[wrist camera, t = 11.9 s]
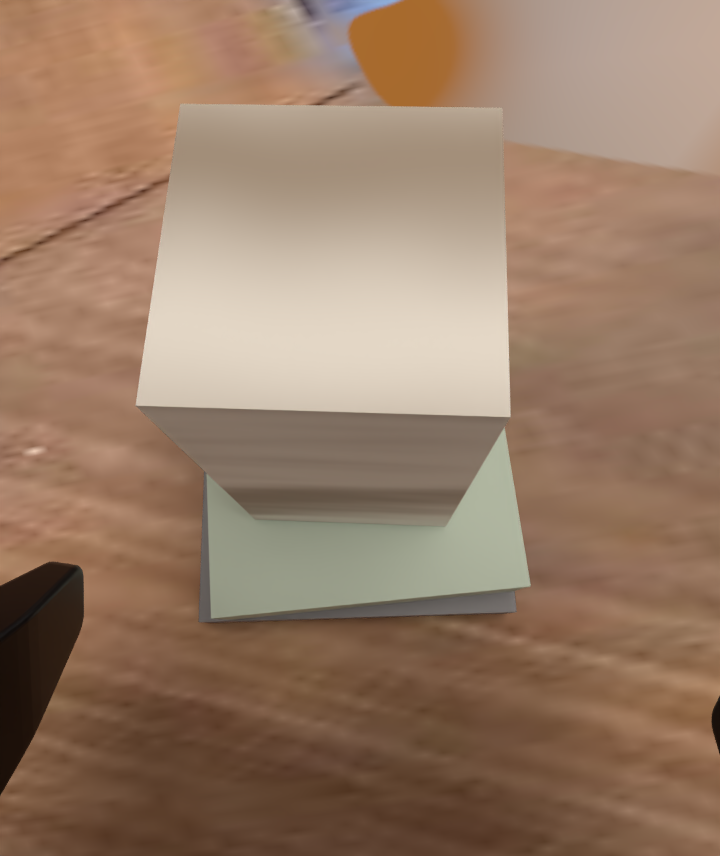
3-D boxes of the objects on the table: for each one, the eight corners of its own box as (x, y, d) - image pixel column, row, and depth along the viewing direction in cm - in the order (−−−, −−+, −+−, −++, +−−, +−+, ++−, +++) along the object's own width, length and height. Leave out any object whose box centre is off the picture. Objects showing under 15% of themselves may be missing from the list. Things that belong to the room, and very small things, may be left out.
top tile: (513, 591, 21) (530, 586, 19) (229, 619, 21) (210, 618, 19) (472, 331, 24) (482, 298, 21) (219, 356, 24) (201, 325, 21)
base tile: (501, 614, 24) (516, 611, 21) (216, 623, 24) (198, 622, 21) (478, 349, 26) (489, 321, 24) (223, 358, 26) (209, 331, 24)
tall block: (445, 526, 19) (510, 416, 10) (255, 519, 19) (135, 406, 10) (446, 349, 21) (502, 108, 11) (270, 345, 21) (180, 103, 12)
